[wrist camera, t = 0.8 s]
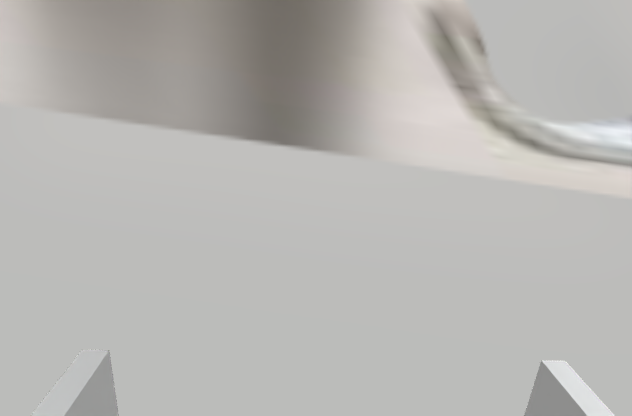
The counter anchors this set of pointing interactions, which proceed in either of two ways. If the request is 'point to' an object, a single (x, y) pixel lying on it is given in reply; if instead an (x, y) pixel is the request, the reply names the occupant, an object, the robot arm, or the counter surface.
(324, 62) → the counter surface
